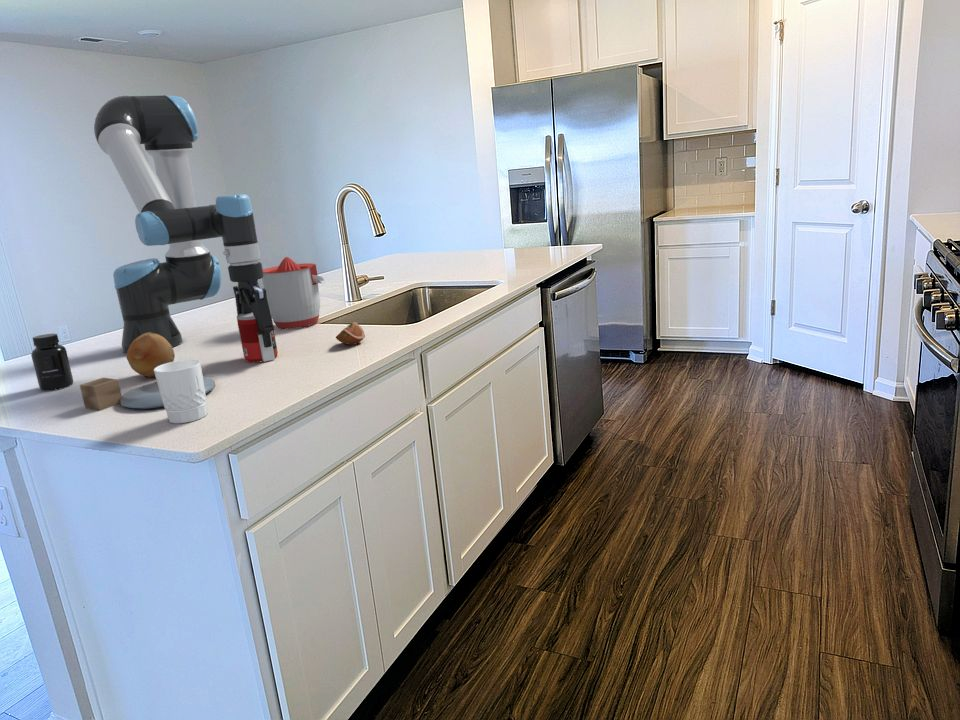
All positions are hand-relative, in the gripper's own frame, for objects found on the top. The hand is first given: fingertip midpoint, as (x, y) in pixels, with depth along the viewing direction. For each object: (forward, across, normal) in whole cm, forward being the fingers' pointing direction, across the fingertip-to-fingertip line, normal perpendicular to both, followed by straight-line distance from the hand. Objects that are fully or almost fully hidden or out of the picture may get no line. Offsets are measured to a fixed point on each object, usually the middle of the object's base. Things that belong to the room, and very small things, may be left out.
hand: (261, 357), depth 166 cm
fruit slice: (+1, +8, +20) cm, 22 cm away
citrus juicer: (0, -28, +24) cm, 37 cm away
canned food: (0, 0, 0) cm, 0 cm away
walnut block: (0, +6, -36) cm, 36 cm away
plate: (0, +12, -25) cm, 28 cm away
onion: (+1, -9, -22) cm, 24 cm away
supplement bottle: (+1, -21, -40) cm, 45 cm away
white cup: (+1, +30, -27) cm, 40 cm away
